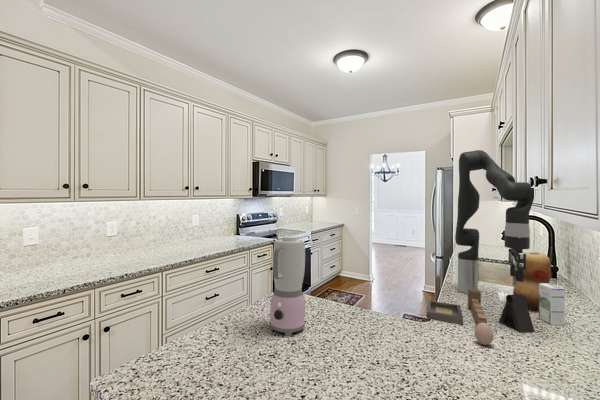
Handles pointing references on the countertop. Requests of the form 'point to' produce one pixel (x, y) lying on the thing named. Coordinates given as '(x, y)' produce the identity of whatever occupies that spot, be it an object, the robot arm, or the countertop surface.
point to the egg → (483, 333)
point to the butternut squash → (534, 277)
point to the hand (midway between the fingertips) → (516, 278)
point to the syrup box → (552, 304)
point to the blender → (288, 286)
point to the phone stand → (516, 314)
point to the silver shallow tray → (444, 312)
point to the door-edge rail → (476, 306)
